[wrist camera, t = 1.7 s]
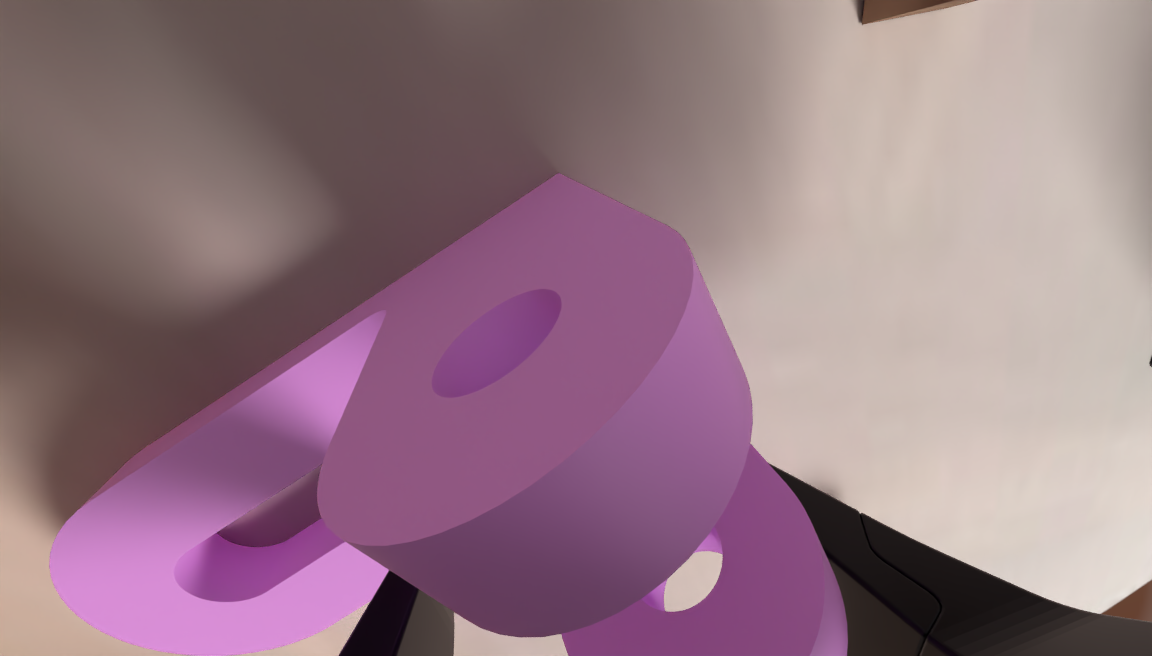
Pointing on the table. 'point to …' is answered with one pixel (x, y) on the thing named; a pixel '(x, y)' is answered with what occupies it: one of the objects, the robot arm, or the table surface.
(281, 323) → the table surface
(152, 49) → the table surface
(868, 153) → the table surface
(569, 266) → the bracket
